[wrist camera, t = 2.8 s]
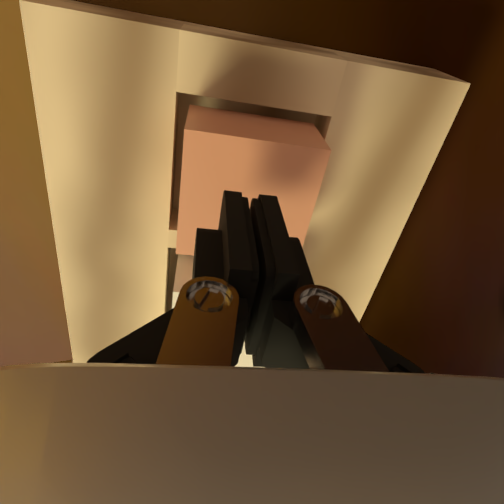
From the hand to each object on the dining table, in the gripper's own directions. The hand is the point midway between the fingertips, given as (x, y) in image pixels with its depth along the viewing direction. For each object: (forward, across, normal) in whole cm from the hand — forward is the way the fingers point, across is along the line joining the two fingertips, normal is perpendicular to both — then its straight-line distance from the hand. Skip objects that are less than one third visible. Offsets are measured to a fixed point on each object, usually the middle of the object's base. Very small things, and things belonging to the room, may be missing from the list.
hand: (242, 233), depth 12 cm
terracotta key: (+5, 0, 0) cm, 5 cm away
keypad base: (+8, 0, +7) cm, 10 cm away
